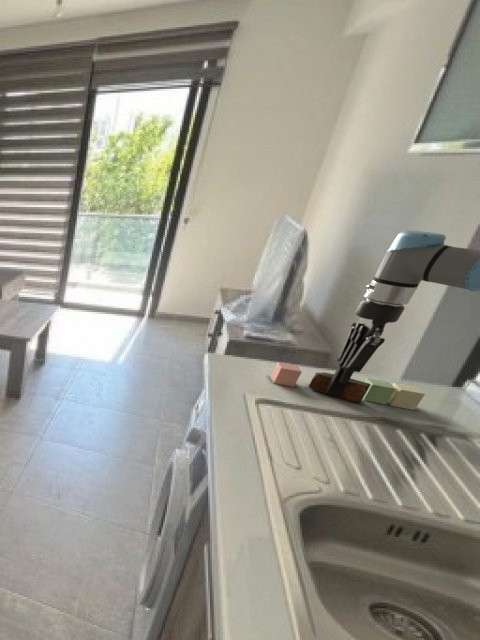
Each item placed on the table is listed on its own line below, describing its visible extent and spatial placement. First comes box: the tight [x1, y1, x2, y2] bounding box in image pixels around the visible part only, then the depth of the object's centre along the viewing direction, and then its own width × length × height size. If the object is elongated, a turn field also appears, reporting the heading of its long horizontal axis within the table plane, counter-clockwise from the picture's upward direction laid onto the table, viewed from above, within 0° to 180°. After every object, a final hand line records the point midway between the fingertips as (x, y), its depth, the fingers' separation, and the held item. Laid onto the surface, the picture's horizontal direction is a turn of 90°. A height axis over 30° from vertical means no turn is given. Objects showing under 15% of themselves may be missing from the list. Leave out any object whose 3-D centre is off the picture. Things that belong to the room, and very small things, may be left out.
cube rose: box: [270, 362, 303, 388], centre depth 129 cm, size 4×4×4 cm
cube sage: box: [362, 377, 395, 405], centre depth 122 cm, size 4×4×4 cm
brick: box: [308, 371, 370, 404], centre depth 123 cm, size 11×4×5 cm, turn 40°
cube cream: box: [387, 382, 426, 411], centre depth 120 cm, size 4×4×4 cm
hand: (333, 392), depth 122 cm, fingers closed
